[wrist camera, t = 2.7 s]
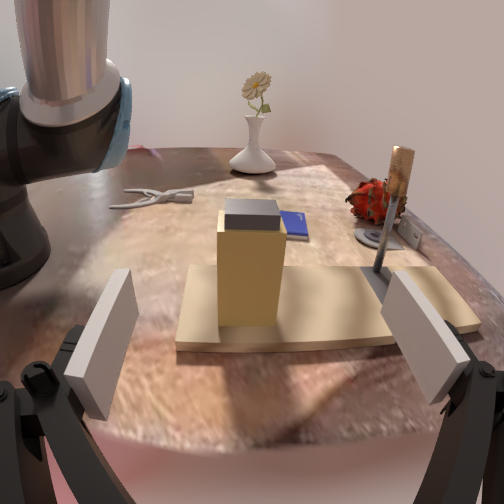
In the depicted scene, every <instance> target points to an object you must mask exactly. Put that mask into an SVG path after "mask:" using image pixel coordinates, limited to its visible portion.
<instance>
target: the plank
mask: <svg viewBox="0 0 504 504" xmlns="http://www.w3.org/2000/svg"><path fill="white" fill-rule="evenodd" d="M372 269H373V267H346V266H283V272H282V280H281V288H280V296H279V303H278V311H277V318H276V325H275V326H218V309H217V265H192V264H190V265H189V269H188V274H187V279H186V284H185V289H184V295H183V300H182V305H181V310H180V316H179V321H178V327H177V332H176V338H175V345H176V351H190V352H234V353H252V352H295V351H316V350H333V349H346V348H358V347H369V346H379V345H388V344H397V342H396V340H395V339H394V337H393V335H392V333H391V331H390V329H389V328H388V326H387V324H386V322H385V320H384V319H383V317H382V315H381V313H380V311H381V308H382V305H383V302H384V299H385V296H386V293H387V290H388V287H389V284H390V281H391V277H392V274H393V271H406V272H407V273H408V275H409V276H410V277H411V278H412V280H413V281H414V282H415V283H416V285H417V286H418V287H419V289H420V290H421V291H422V292H423V294H424V295H425V296H426V298H427V299H428V300H429V302H430V303H431V304H432V306H433V307H434V308H435V310H436V311H437V312H438V314H439V315H440V316H441V318H442V319H443V320H447V321H449V322H450V323H451V324H452V325H454V326H455V328H456V329H457V331H458V332H459V333H460V334H464V333H469V332H474V331H478V329H479V327H480V325H481V321H480V320H479V319H478V317H477V316H476V315H475V314H474V312H473V311H472V310H471V309H470V307H469V306H468V305H467V304H466V303H465V301H464V300H463V299H462V298H461V296H460V295H459V294H458V293H457V292H456V290H455V289H454V288H453V287H452V286H451V285H450V283H449V282H448V281H447V280H446V279H445V278H444V277H443V275H442V274H441V273H440V272H439V271H438V270H437V269H436V268H435V267H381V270H380V273H374V272H373V271H372Z"/></svg>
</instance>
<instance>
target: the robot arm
mask: <svg viewBox="0 0 504 504" xmlns="http://www.w3.org/2000/svg"><path fill="white" fill-rule="evenodd" d="M14 4H15V13H16V22H17V29H18V36H19V42H20V48H21V53H22V58H23V63H24V68H25V73H26V77H27V82H26V84H25V85H24V87H23V89H22V91H21V94H20V96H19V92H18V91H17V88H16V87H7V88H3V89H0V289H3V288H6V287H9V286H11V285H13V284H16V283H18V282H20V281H21V280H23V279H25V278H27V277H28V276H30V275H31V274H32V273H34V272H35V271H36V270H37V269H39V268H40V267H41V266H42V265H43V264H44V262H45V261H46V260H47V258H48V257H49V254H50V251H51V247H50V243H49V239H48V235H47V232H46V230H45V229H44V227H43V226H42V225H41V223H40V221H39V219H38V217H37V215H36V213H35V211H34V209H33V208H32V206H31V204H30V202H29V199H28V194H27V189H26V184H30V183H34V182H39V181H44V180H49V179H54V178H60V177H66V176H72V175H78V174H84V173H91V172H92V173H96V172H99V171H100V170H104V169H109V168H113V167H116V166H118V165H119V164H120V163H121V162H122V161H123V160H124V158H125V155H126V152H127V148H128V142H129V135H130V120H131V112H132V90H131V83H130V81H129V80H128V79H126V78H122V77H120V75H119V71H118V69H117V67H116V66H115V65H114V63H112V62H111V61H110V60H108V59H107V34H108V18H109V5H110V0H14ZM380 313H381V315H382V317H383V319H384V320H385V322H386V324H387V326H388V328H389V329H390V331H391V333H392V335H393V337H394V339H395V340H396V342H397V344H398V346H399V348H400V350H401V352H402V353H403V355H404V357H405V359H406V361H407V363H408V365H409V367H410V369H411V371H412V373H413V375H414V377H415V379H416V381H417V383H418V385H419V387H420V389H421V391H422V393H423V395H424V397H425V399H426V401H427V403H428V405H432V404H436V403H439V402H442V401H443V399H444V398H445V397H446V395H447V394H449V396H450V398H451V399H450V400H449V401H448V403H447V404H446V405H445V407H444V408H443V409H442V410H441V412H440V414H442V413H443V412H444V411H445V410H446V411H445V415H444V419H443V422H442V426H441V429H440V432H439V436H438V439H437V442H436V445H435V448H434V451H433V454H432V457H431V460H430V463H429V466H428V468H427V471H426V473H425V476H424V479H423V481H422V484H421V486H420V488H419V491H418V493H417V496H416V498H415V500H414V502H413V504H476V501H477V497H478V494H479V490H480V486H481V482H482V478H483V487H482V504H504V371H496V370H495V369H494V367H493V366H492V365H491V364H489V363H487V362H485V361H478V359H477V358H476V356H475V355H474V353H473V352H472V350H471V349H470V348H469V346H468V345H467V343H466V342H465V341H464V339H463V338H462V336H461V335H460V333H459V332H458V331H457V329H456V328H455V326H454V325H452V324H451V323H450V322H449V321H447V320H443V319H442V318H441V316H440V315H439V314H438V312H437V311H436V310H435V308H434V307H433V306H432V304H431V303H430V302H429V300H428V299H427V298H426V296H425V295H424V294H423V292H422V291H421V290H420V289H419V287H418V286H417V285H416V283H415V282H414V281H413V280H412V278H411V277H410V276H409V275H408V273H407V272H406V271H393V274H392V277H391V281H390V284H389V287H388V290H387V293H386V296H385V299H384V302H383V305H382V308H381V311H380ZM138 315H139V312H138V307H137V302H136V297H135V292H134V287H133V282H132V276H131V270H130V269H115V271H114V273H113V274H112V276H111V278H110V280H109V282H108V284H107V285H106V287H105V289H104V291H103V293H102V295H101V297H100V299H99V301H98V303H97V304H96V306H95V308H94V310H93V312H92V314H91V316H90V318H89V320H88V322H87V324H86V326H81V325H75V326H74V327H73V328H72V329H71V330H70V331H69V332H68V333H67V335H66V337H65V339H64V341H63V343H62V345H61V347H60V350H59V351H58V353H57V355H56V357H55V359H54V361H53V363H52V365H51V366H50V365H49V364H48V363H46V362H44V361H36V362H32V363H31V364H29V365H27V366H26V367H25V369H24V370H23V371H22V374H21V382H22V384H23V385H24V387H25V388H21V389H14V387H13V386H12V384H11V383H10V382H8V381H0V504H57V500H56V497H55V493H54V489H53V484H52V480H51V475H50V470H49V465H48V460H47V454H46V448H45V442H44V436H46V438H47V441H48V443H49V445H50V448H51V450H52V452H53V454H54V457H55V459H56V461H57V463H58V465H59V467H60V470H61V471H62V474H63V475H64V477H65V479H66V481H67V483H68V485H69V487H70V489H71V491H72V492H73V494H74V496H75V498H76V500H77V502H78V503H79V504H136V503H135V501H134V500H133V499H132V497H131V496H130V495H129V493H128V492H127V491H126V489H125V488H124V486H123V485H122V483H121V482H120V481H119V479H118V477H117V476H116V474H115V473H114V471H113V470H112V468H111V467H110V465H109V464H108V462H107V460H106V459H105V457H104V456H103V454H102V452H101V451H100V449H99V447H98V446H97V444H96V442H95V440H94V439H93V437H92V435H91V433H90V431H89V430H88V428H87V426H86V424H85V422H84V421H83V419H82V417H83V414H84V411H85V412H86V413H87V415H88V417H89V418H92V419H97V420H103V421H107V419H108V415H109V411H110V407H111V403H112V400H113V396H114V392H115V389H116V385H117V382H118V378H119V375H120V371H121V368H122V365H123V361H124V358H125V355H126V352H127V348H128V345H129V342H130V339H131V336H132V333H133V330H134V327H135V324H136V321H137V318H138Z"/></svg>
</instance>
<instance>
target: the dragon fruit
mask: <svg viewBox="0 0 504 504" xmlns="http://www.w3.org/2000/svg"><path fill="white" fill-rule="evenodd" d="M385 180H386V182H381V181H378V180H377V179H375V178H371V179H370V180H369V182H361V183H360V184H359V185H358V187H357V189H356V190H354V191H353V193H352V194H351V195H349V196H348V198H346V199H345V202H347V200H348V201H349V202H350V204H352V205H353V206H354V208H352V209H351V210H350V211H351V213H353V214H354V216H358V217H361V218H362V219H365V220H367V219H374V220H375V225H378V224H381V223H385V219H386V214H387V210H388V206H389V201H390V196H391V194H390V193H388V192H386V185H387V179H385ZM406 200H407V197H406V196H404V197H402V196H400V197H399V201H398V206H397V210H396V214H395V218H394V220H395V219H396V218H398V219H401V218H402V217H400V216H399V215H400V214H401V213H403V212H405V204H406ZM379 220H381V221H380V222H379Z"/></svg>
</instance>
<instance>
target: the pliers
mask: <svg viewBox="0 0 504 504" xmlns="http://www.w3.org/2000/svg"><path fill="white" fill-rule="evenodd" d="M124 192H138V193H144V195H145V196H147V197H151V198H152V195H154V196H156V197H155V198H154V199H152V200H150V198H147V199H143V200H140V201H138V202H136V203H133V204H125V205H111V206H109V208H113V209H124V208H135V207H142V206H148V205H152V204H155V203H159V202H165V201H179V202H192V197H194V190H193V189H181V190H168V191H166V192H165V193H161V192H159V191H155V190H148V189H128V190H124ZM149 194H151V195H149Z"/></svg>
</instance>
